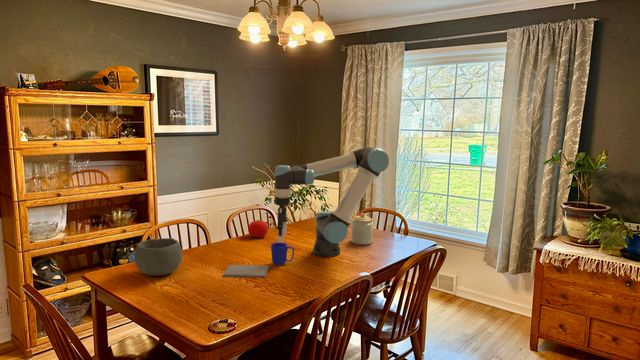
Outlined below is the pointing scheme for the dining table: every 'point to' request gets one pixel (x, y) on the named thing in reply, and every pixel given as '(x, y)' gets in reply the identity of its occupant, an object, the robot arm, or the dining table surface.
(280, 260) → the mug
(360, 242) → the jar
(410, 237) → the dining table surface
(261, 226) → the tomato
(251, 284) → the dining table surface
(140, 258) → the bowl
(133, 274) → the dining table surface
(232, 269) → the plate
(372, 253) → the dining table surface
